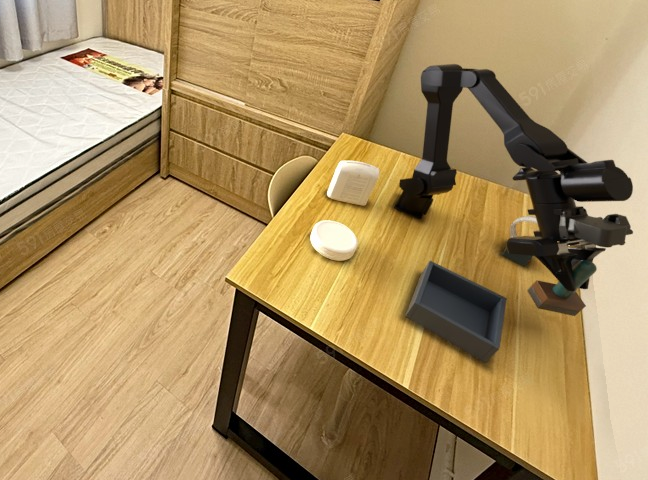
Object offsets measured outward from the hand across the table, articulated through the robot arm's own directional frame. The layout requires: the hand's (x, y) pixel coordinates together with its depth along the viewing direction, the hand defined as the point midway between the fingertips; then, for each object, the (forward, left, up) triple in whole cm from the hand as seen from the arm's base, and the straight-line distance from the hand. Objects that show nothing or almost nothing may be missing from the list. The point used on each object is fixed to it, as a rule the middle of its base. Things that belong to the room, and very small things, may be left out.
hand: (577, 290), depth 72 cm
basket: (-14, -8, -13) cm, 21 cm away
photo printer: (-42, +13, -14) cm, 46 cm away
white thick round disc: (-39, -6, -14) cm, 41 cm away
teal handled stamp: (-1, +1, -6) cm, 6 cm away
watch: (-5, +21, -14) cm, 26 cm away
